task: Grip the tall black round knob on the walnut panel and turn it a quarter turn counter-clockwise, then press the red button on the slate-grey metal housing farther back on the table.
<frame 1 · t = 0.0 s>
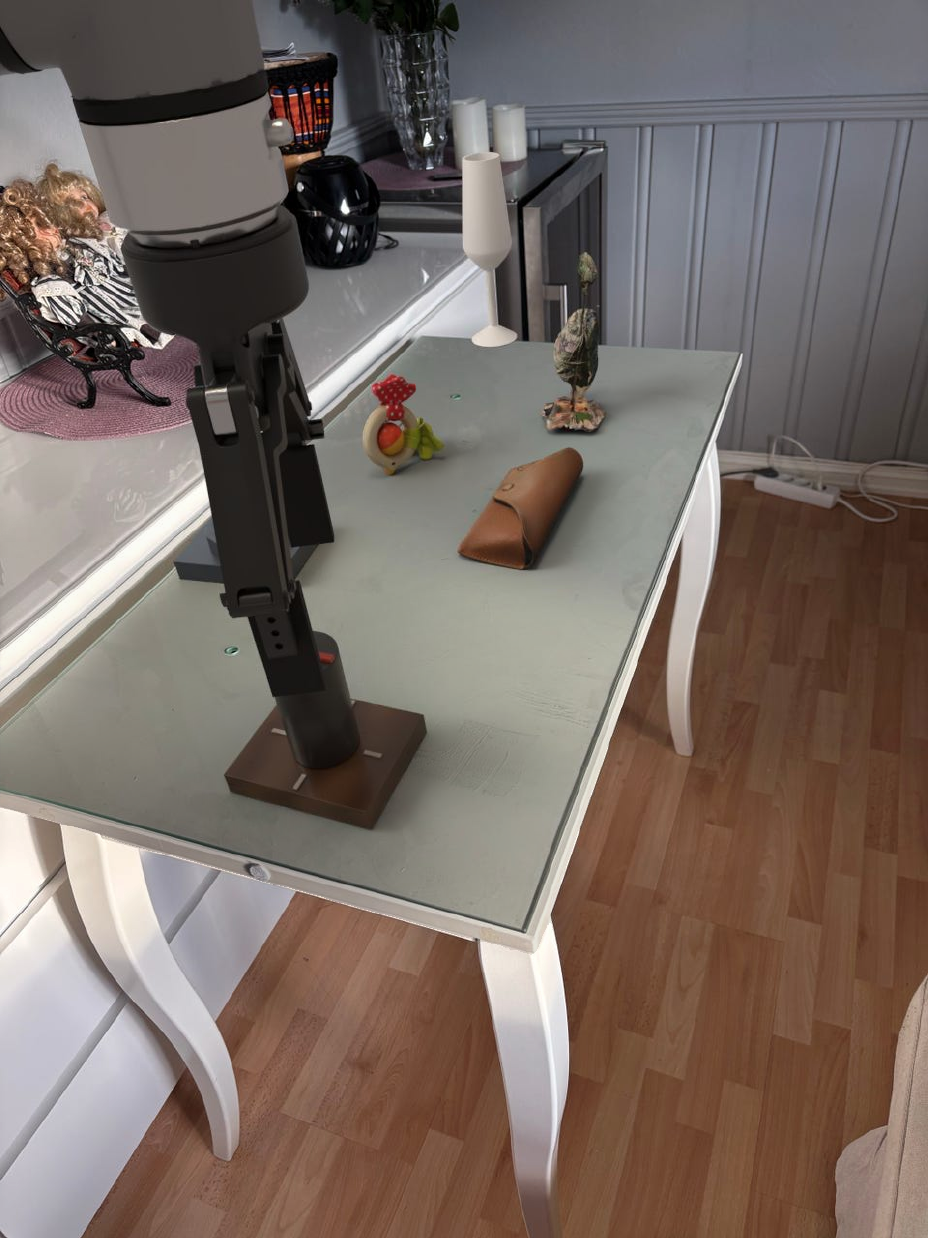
hand: (307, 608, 52), 20 cm above the table, tool pointing down, fingers open, 13 cm apart
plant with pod: (574, 416, 111), on the table
button: (243, 517, 91), point 5 cm above the table, slide at 0.1 cm
knob panel: (330, 761, 70), on the table
button box: (254, 555, 93), on the table
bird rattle: (405, 465, 105), on the table
champagne flute: (494, 338, 132), on the table
dial: (313, 699, 66), point 7 cm above the table, hinge at 0.0°
sunglasses case: (523, 518, 94), on the table
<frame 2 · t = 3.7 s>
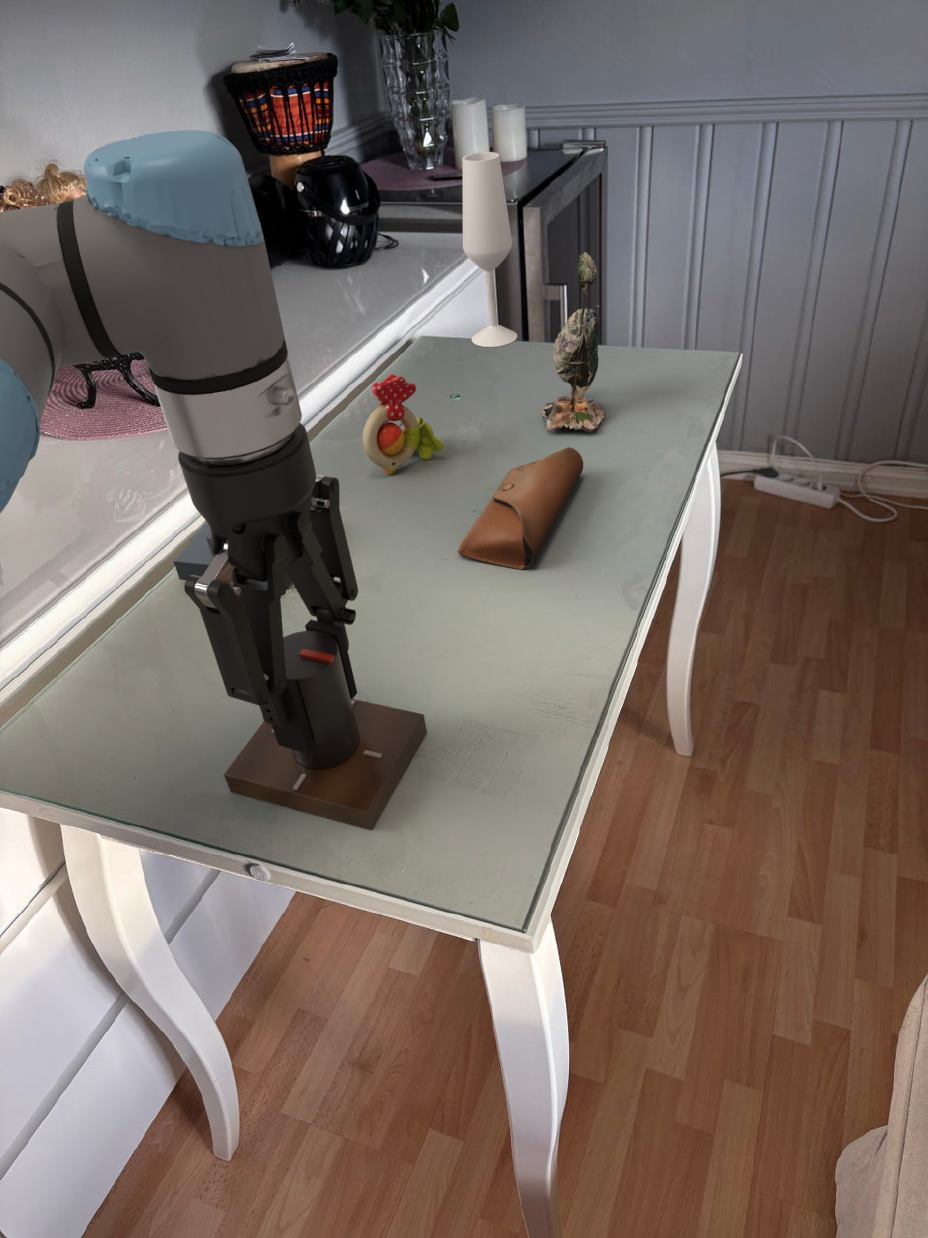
hand: (318, 717, 67), 5 cm above the table, tool pointing down, fingers closed on dial, 5 cm apart
dial: (313, 699, 66), point 7 cm above the table, hinge at -0.1°, touching gripper
everything else where it was.
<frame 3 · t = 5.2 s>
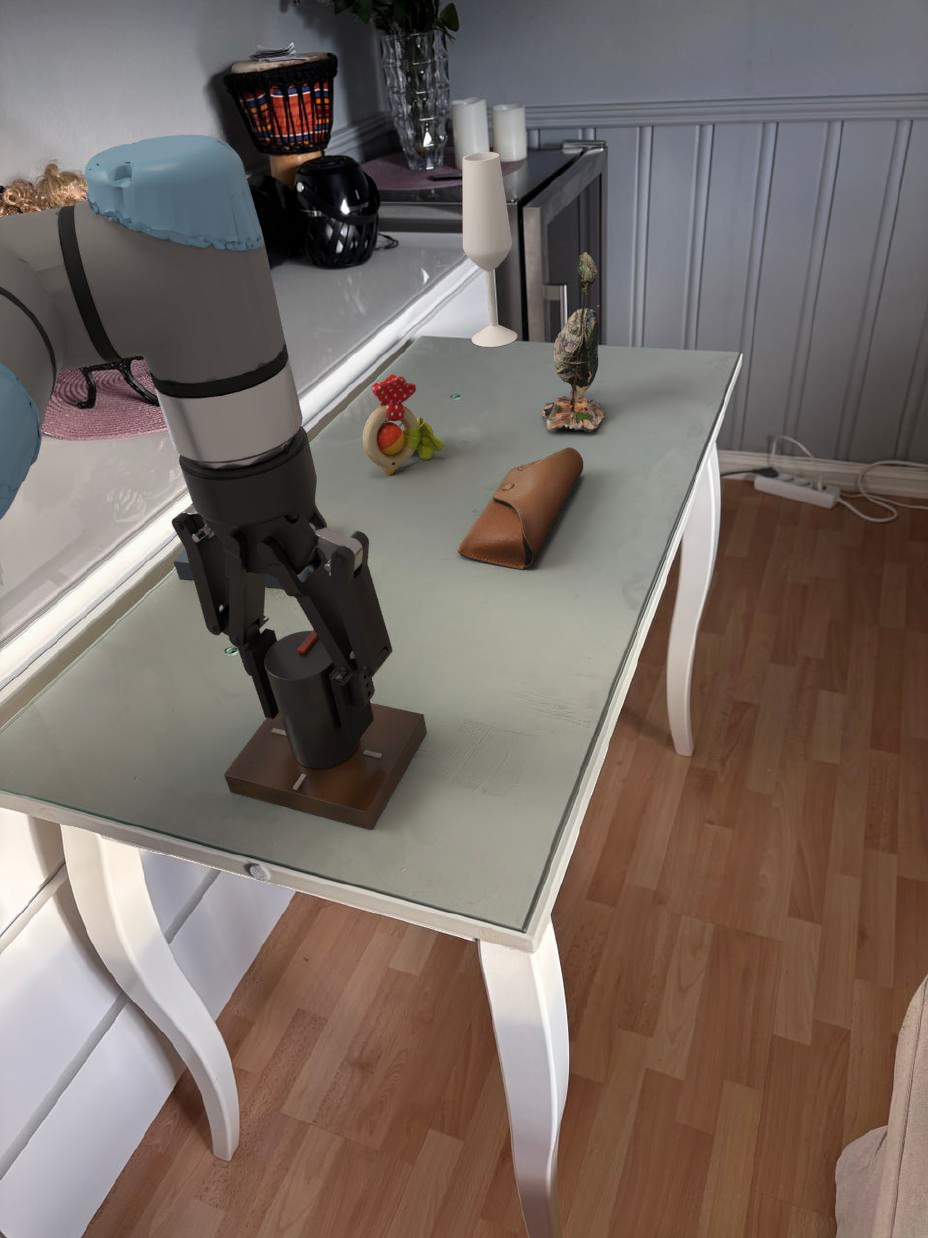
hand: (318, 717, 67), 5 cm above the table, tool pointing down, fingers open, 6 cm apart
dial: (313, 699, 66), point 7 cm above the table, hinge at 89.3°
everything else where it was.
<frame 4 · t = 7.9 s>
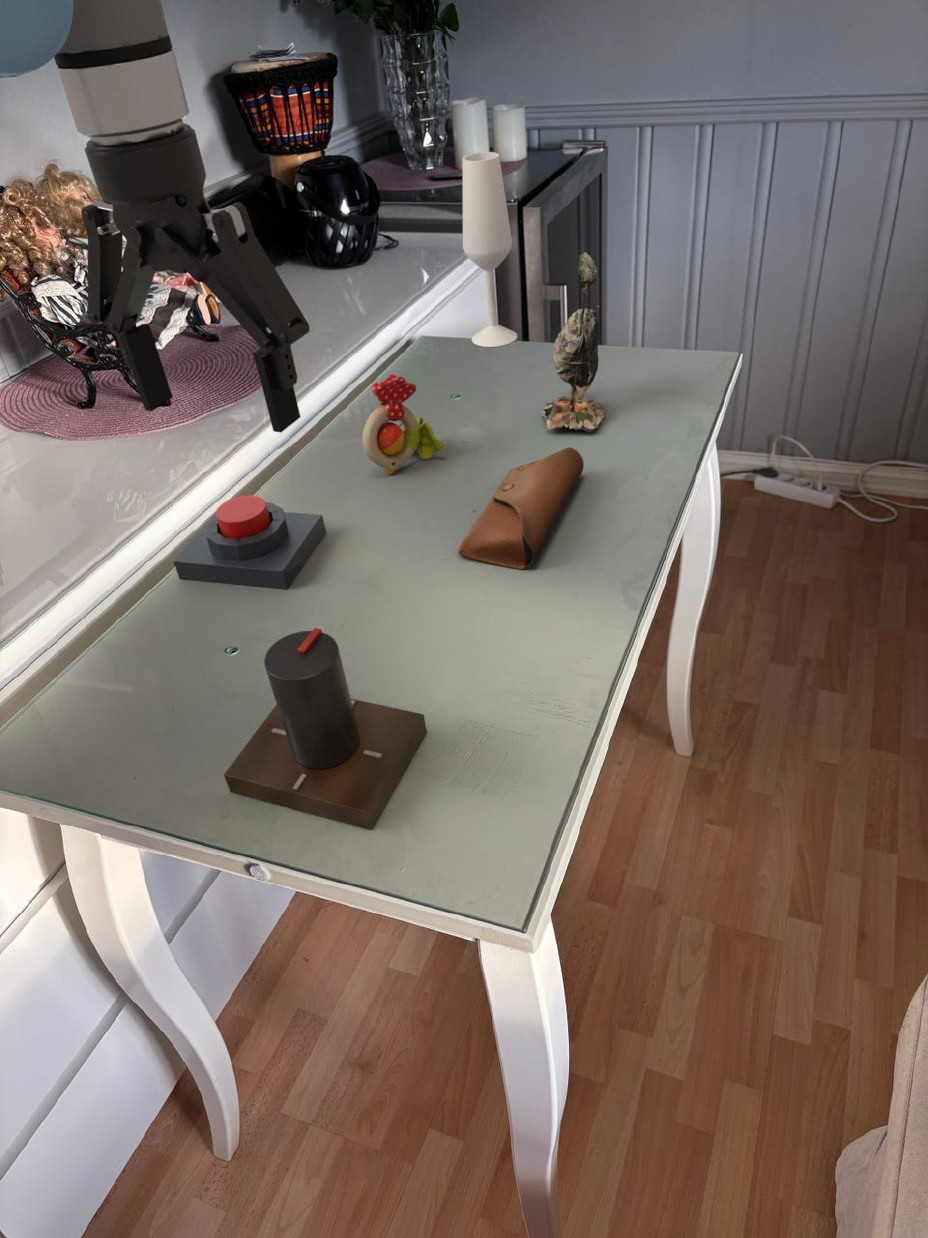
hand: (221, 414, 76), 19 cm above the table, tool pointing down, fingers open, 13 cm apart
nothing on the table moved.
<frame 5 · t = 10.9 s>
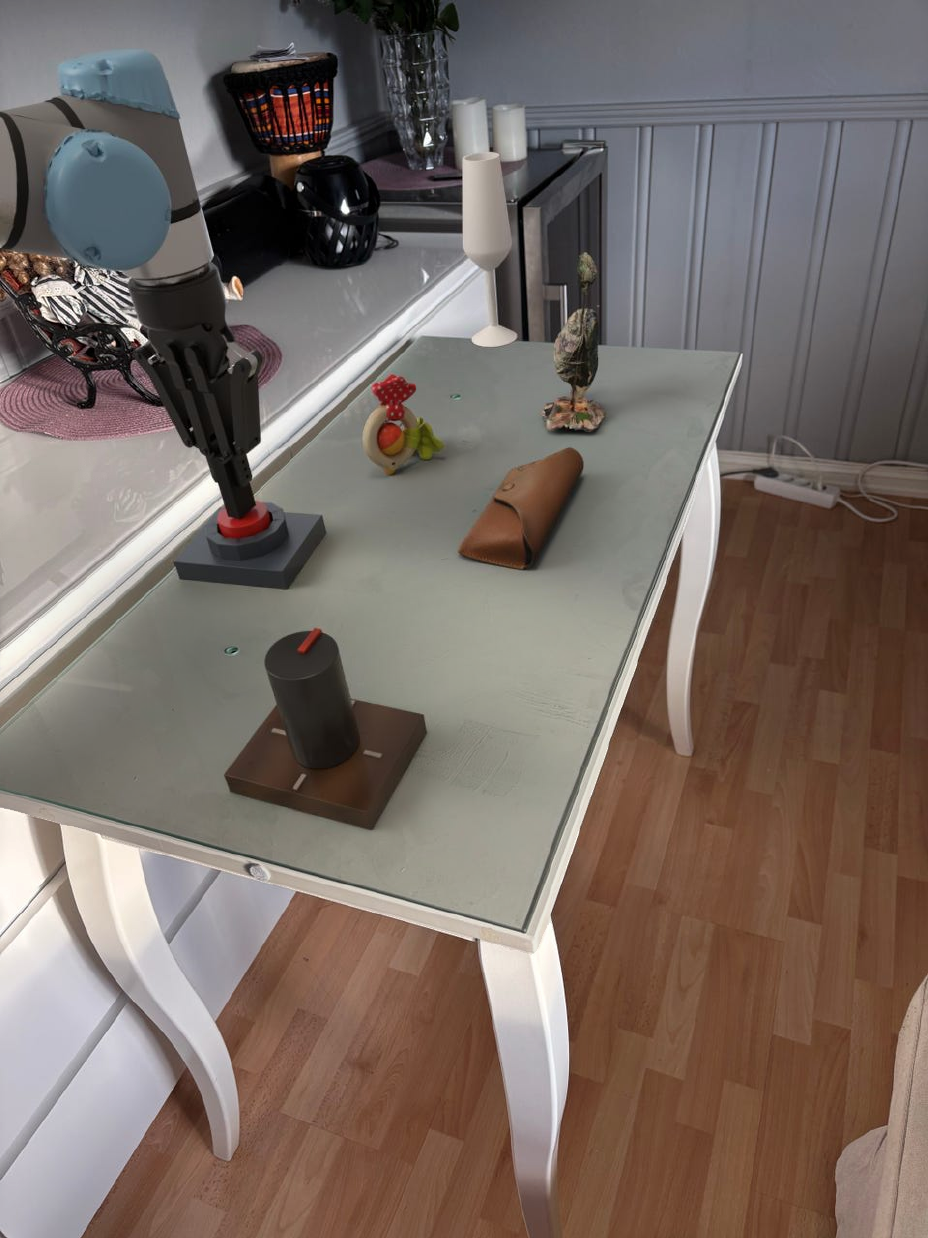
hand: (242, 510, 90), 5 cm above the table, tool pointing down, fingers closed
button: (244, 521, 91), point 4 cm above the table, slide at -0.5 cm, touching gripper
everything else where it was.
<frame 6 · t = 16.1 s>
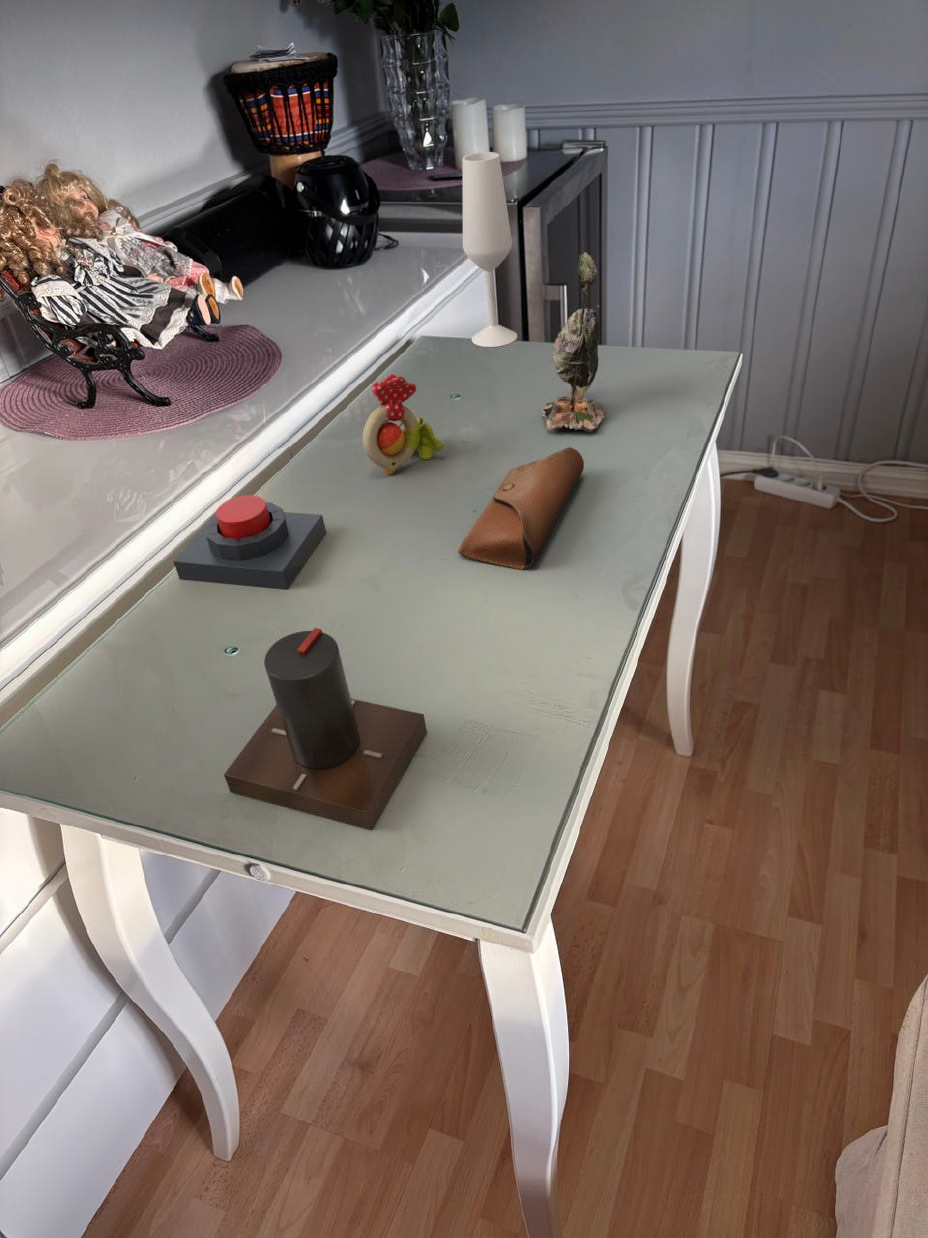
button: (243, 517, 91), point 5 cm above the table, slide at 0.1 cm
everything else where it was.
at the end: dial at +89° (first picture: +0°); button pushed in 1.0 cm at the most during the clip, back to where it started at the end; button slide at 0.1 cm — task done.
